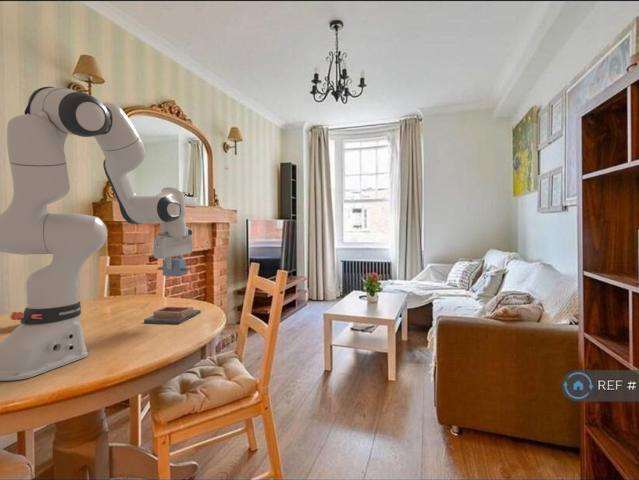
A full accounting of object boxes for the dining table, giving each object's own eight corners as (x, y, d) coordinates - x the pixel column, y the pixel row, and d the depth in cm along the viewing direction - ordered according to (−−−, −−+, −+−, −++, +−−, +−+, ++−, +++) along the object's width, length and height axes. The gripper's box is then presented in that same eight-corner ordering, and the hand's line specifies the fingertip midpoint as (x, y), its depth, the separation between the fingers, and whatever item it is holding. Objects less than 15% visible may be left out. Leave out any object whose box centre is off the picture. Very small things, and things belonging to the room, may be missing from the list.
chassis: (179, 323, 123) (179, 315, 123) (144, 322, 125) (143, 314, 124) (200, 313, 138) (200, 305, 138) (169, 312, 140) (168, 304, 140)
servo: (186, 276, 125) (185, 260, 125) (156, 275, 127) (156, 259, 127) (191, 274, 129) (191, 259, 129) (163, 273, 131) (163, 258, 131)
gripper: (164, 232, 116) (165, 272, 117) (195, 230, 137) (195, 264, 137) (147, 232, 117) (148, 271, 118) (181, 230, 138) (181, 264, 138)
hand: (174, 267), depth 128 cm, fingers closed on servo, 4 cm apart
